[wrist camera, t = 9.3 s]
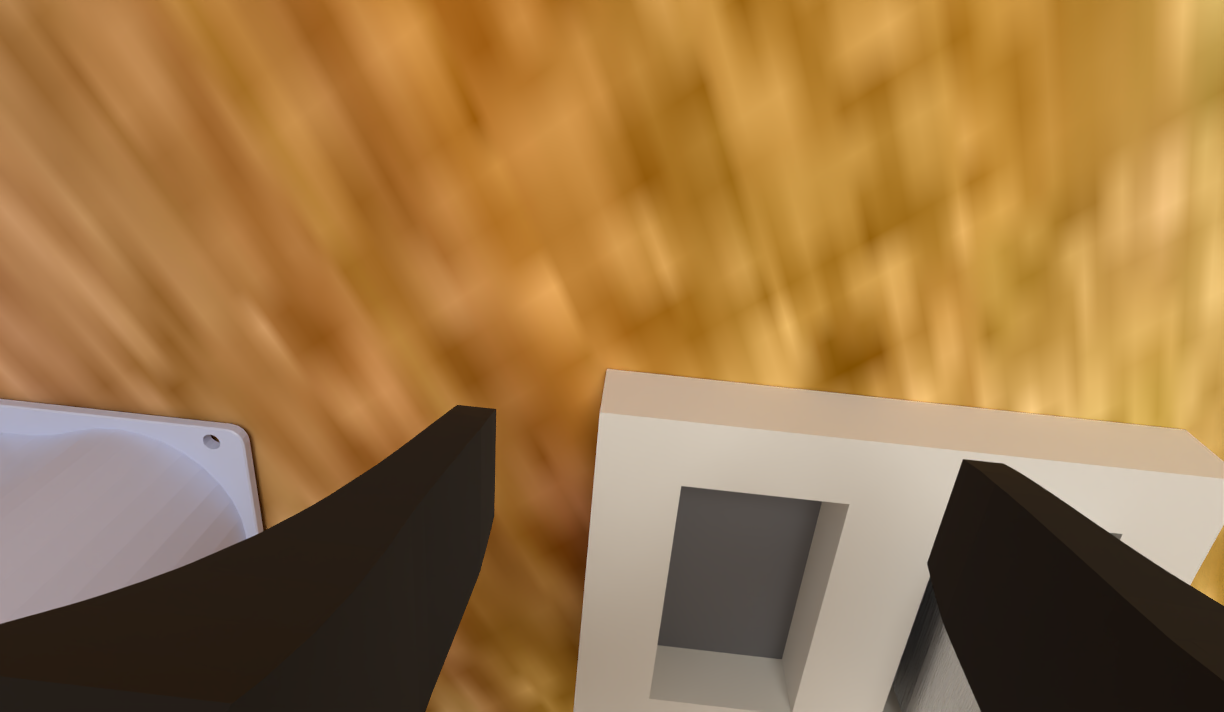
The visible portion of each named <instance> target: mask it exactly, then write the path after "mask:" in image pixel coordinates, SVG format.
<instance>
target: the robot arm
mask: <svg viewBox="0 0 1224 712" xmlns="http://www.w3.org/2000/svg"><path fill="white" fill-rule="evenodd" d="M211 435H213V436H215V437H216V438H218V439H219V442H217V441H215V440H214V439H212V437H211ZM495 441H496V409H490V408H481V407H471V406H462V405H457V406H455V407H454V408H453V409H451V410H450V411H448V412H447V413H446V414H444V415H443V416H442V417H441V418H439V419H438V420H437V421H435V422H434V423H433V424H431V425H430V426H429V427H427V428H426V429H425V430H423V431H422V432H421V433H419V434H418V435H417V436H415V437H414V438H413V439H412V440H410V441H409V442H408V443H406V444H405V445H404V446H402V447H401V448H399V449H398V450H397V451H395V452H394V453H393V454H391V455H390V456H388V457H387V458H386V459H384V460H383V461H381V462H380V463H379V464H377V465H376V466H374V467H373V468H371V469H370V470H368V471H367V472H365V473H363V474H362V475H360V476H359V477H357V478H356V479H354V480H353V481H351V482H350V483H348V484H346V485H345V486H343V487H342V488H340V489H339V490H337V491H336V492H334V493H333V494H331V495H329V496H328V497H326V498H324V499H323V500H321V501H319V502H318V503H316V504H314V505H312V506H310V507H309V508H307V509H305V510H303V511H302V512H300V513H298V514H296V515H294V516H292V517H290V518H288V519H286V520H284V521H282V522H280V523H279V524H277V525H275V526H273V527H271V528H269V529H267V530H265V531H263V524H262V518H261V511H260V505H259V498H258V492H257V485H256V479H255V472H254V466H253V459H252V453H251V446H250V439H249V437H248V434H247V433H246V432H245V431H244V429H242V428H241V427H239V426H237V425H234V424H228V423H219V422H210V421H201V420H191V419H182V418H173V417H164V416H154V415H145V414H136V413H127V412H118V411H108V410H99V409H90V408H81V407H71V406H62V405H53V404H44V403H34V402H25V401H16V400H7V399H0V712H425V711H426V708H427V705H428V702H429V700H430V697H431V694H432V692H433V689H434V687H435V684H436V682H437V679H438V677H439V674H440V672H441V669H442V667H443V664H444V662H445V659H446V657H447V654H448V651H449V649H450V646H451V644H452V641H453V639H454V636H455V634H456V631H457V629H458V626H459V624H460V621H461V619H462V616H463V614H464V611H465V609H466V606H467V604H468V601H469V599H470V596H471V593H472V591H473V588H474V586H475V583H476V581H477V578H478V575H479V573H480V570H481V566H482V562H483V558H484V554H485V551H486V547H487V543H488V539H489V535H490V531H491V527H492V523H493V518H494V499H495ZM927 566H928V570H929V574H930V578H931V582H932V586H933V590H934V594H935V598H936V601H937V604H938V608H939V611H940V615H941V618H942V621H943V624H944V627H945V629H946V632H947V634H948V637H949V639H950V641H951V644H952V646H953V648H954V651H955V653H956V655H957V658H958V660H959V662H960V665H961V667H962V669H963V672H964V674H965V676H966V679H967V681H968V683H969V685H970V688H971V690H972V692H973V695H974V697H975V699H976V701H977V704H978V706H979V708H980V710H981V712H1224V606H1223V605H1221V604H1219V603H1218V602H1216V601H1214V600H1213V599H1211V598H1209V597H1208V596H1206V595H1205V594H1203V593H1201V592H1200V591H1198V590H1197V589H1195V588H1193V587H1192V586H1190V585H1189V584H1187V583H1185V582H1184V581H1182V580H1181V579H1179V578H1177V577H1176V576H1174V575H1173V574H1171V573H1169V572H1168V571H1166V570H1165V569H1163V568H1161V567H1160V566H1158V565H1157V564H1155V563H1154V562H1152V561H1151V560H1149V559H1148V558H1146V557H1145V556H1143V555H1142V554H1140V553H1139V552H1137V551H1136V550H1134V549H1133V548H1131V547H1130V546H1128V545H1127V544H1125V543H1124V542H1122V541H1121V540H1119V539H1118V538H1116V537H1115V536H1113V535H1112V534H1110V533H1109V532H1107V531H1106V530H1105V529H1103V528H1102V527H1100V526H1099V525H1097V524H1096V523H1094V522H1093V521H1091V520H1090V519H1089V518H1087V517H1086V516H1084V515H1083V514H1081V513H1080V512H1078V511H1077V510H1075V509H1074V508H1073V507H1071V506H1070V505H1068V504H1067V503H1065V502H1064V501H1062V500H1061V499H1059V498H1058V497H1057V496H1055V495H1054V494H1052V493H1051V492H1049V491H1048V490H1046V489H1045V488H1043V487H1042V486H1040V485H1039V484H1037V483H1036V482H1034V481H1032V480H1031V479H1029V478H1028V477H1026V476H1025V475H1023V474H1021V473H1020V472H1018V471H1016V470H1015V469H1013V468H1011V467H1009V466H1007V465H1005V464H1003V463H995V462H985V461H976V460H967V459H963V460H962V463H961V466H960V469H959V472H958V475H957V478H956V481H955V483H954V486H953V489H952V492H951V495H950V498H949V501H948V504H947V507H946V509H945V512H944V515H943V518H942V521H941V524H940V527H939V530H938V533H937V536H936V538H935V541H934V544H933V547H932V550H931V553H930V556H929V559H928V562H927Z"/></svg>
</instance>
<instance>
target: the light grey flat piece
mask: <svg viewBox="0 0 1224 712" xmlns="http://www.w3.org/2000/svg"><path fill="white" fill-rule="evenodd" d="M963 459H967V460H976V461H985V462H995V463H1003V464H1005V465H1007V466H1009V467H1011V468H1013V469H1015V470H1016V471H1018V472H1020V473H1021V474H1023V475H1025V476H1026V477H1028V478H1029V479H1031V480H1032V481H1034V482H1036V483H1037V484H1039V485H1040V486H1042V487H1043V488H1045V489H1046V490H1048V491H1049V492H1051V493H1052V494H1054V495H1055V496H1057V497H1058V498H1059V499H1061V500H1062V501H1064V502H1065V503H1067V504H1068V505H1070V506H1071V507H1073V508H1074V509H1075V510H1077V511H1078V512H1080V513H1081V514H1083V515H1084V516H1086V517H1087V518H1089V519H1090V520H1091V521H1093V522H1094V523H1096V524H1097V525H1099V526H1100V527H1102V528H1103V529H1105V530H1106V531H1107V532H1109V533H1110V534H1112V535H1113V536H1115V537H1116V538H1118V539H1119V540H1121V541H1122V542H1124V543H1125V544H1127V545H1128V546H1130V547H1131V548H1133V549H1134V550H1136V551H1137V552H1139V553H1140V554H1142V555H1143V556H1145V557H1146V558H1148V559H1149V560H1151V561H1152V562H1154V563H1155V564H1157V565H1158V566H1160V567H1161V568H1163V569H1165V570H1166V571H1168V572H1169V573H1171V574H1173V575H1174V576H1176V577H1177V578H1179V579H1181V580H1182V581H1184V582H1185V583H1187V584H1189V585H1190V584H1191V583H1192V581H1193V579H1194V577H1195V575H1196V574H1197V572H1198V570H1199V568H1200V566H1201V565H1202V563H1203V561H1204V559H1205V557H1206V556H1207V554H1208V552H1209V550H1210V548H1211V547H1212V545H1213V543H1214V541H1215V539H1216V537H1217V536H1218V534H1219V532H1220V530H1221V528H1222V527H1223V525H1224V461H1222V460H1221V459H1220V458H1219V457H1218V456H1216V455H1215V454H1214V453H1213V452H1212V451H1210V450H1209V449H1208V448H1207V447H1206V446H1204V445H1203V444H1202V443H1201V442H1200V441H1198V440H1197V439H1196V438H1195V437H1194V436H1192V435H1191V434H1190V433H1189V432H1188V431H1186V430H1184V429H1174V428H1165V427H1155V426H1146V425H1136V424H1127V423H1117V422H1108V421H1098V420H1089V419H1079V418H1070V417H1060V416H1051V415H1041V414H1032V413H1022V412H1013V411H1003V410H994V409H984V408H975V407H965V406H956V405H946V404H937V403H927V402H918V401H908V400H899V399H889V398H880V397H870V396H861V395H851V394H841V393H832V392H822V391H813V390H803V389H794V388H784V387H775V386H765V385H756V384H746V383H737V382H727V381H718V380H708V379H699V378H689V377H680V376H670V375H661V374H651V373H642V372H632V371H623V370H613V369H607V372H606V378H605V384H604V390H603V396H602V402H601V408H600V416H599V427H598V438H597V450H596V461H595V472H594V484H593V495H592V507H591V518H590V529H589V541H588V552H587V563H586V575H585V586H584V597H583V609H582V620H581V631H580V643H579V654H578V666H577V677H576V688H575V700H574V711H573V712H901V709H900V706H899V702H898V699H897V696H896V693H895V690H894V687H893V684H892V683H893V680H894V677H895V674H896V672H897V669H898V666H899V663H900V660H901V657H902V655H903V652H904V649H905V646H906V643H907V640H908V637H909V635H910V632H911V629H912V626H913V623H914V620H915V618H916V615H917V612H918V609H919V606H920V603H921V601H922V598H923V595H924V592H925V589H926V586H927V583H928V581H929V578H930V574H929V570H928V566H927V562H928V559H929V556H930V553H931V550H932V547H933V544H934V541H935V538H936V536H937V533H938V530H939V527H940V524H941V521H942V518H943V515H944V512H945V509H946V507H947V504H948V501H949V498H950V495H951V492H952V489H953V486H954V483H955V481H956V478H957V475H958V472H959V469H960V466H961V463H962V460H963Z"/></svg>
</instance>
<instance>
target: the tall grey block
mask: <svg viewBox="0 0 1224 712" xmlns="http://www.w3.org/2000/svg"><path fill="white" fill-rule="evenodd" d="M892 684H893V687H894V690H895V693H896V696H897V699H898V702H899V706H900V709H901V712H981V710H980V708H979V706H978V704H977V701H976V699H975V697H974V695H973V692H972V690H971V688H970V685H969V683H968V681H967V679H966V676H965V674H964V672H963V669H962V667H961V665H960V662H959V660H958V658H957V655H956V653H955V651H954V648H953V646H952V644H951V641H950V639H949V637H948V634H947V632H946V629H945V627H944V624H943V621H942V618H941V615H940V611H939V608H938V604H937V601H936V598H935V594H934V590H933V586H932V582H931V578H929V581H928V583H927V586H926V589H925V592H924V595H923V598H922V601H921V603H920V606H919V609H918V612H917V615H916V618H915V620H914V623H913V626H912V629H911V632H910V635H909V637H908V640H907V643H906V646H905V649H904V652H903V655H902V657H901V660H900V663H899V666H898V669H897V672H896V674H895V677H894V680H893V683H892Z"/></svg>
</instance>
